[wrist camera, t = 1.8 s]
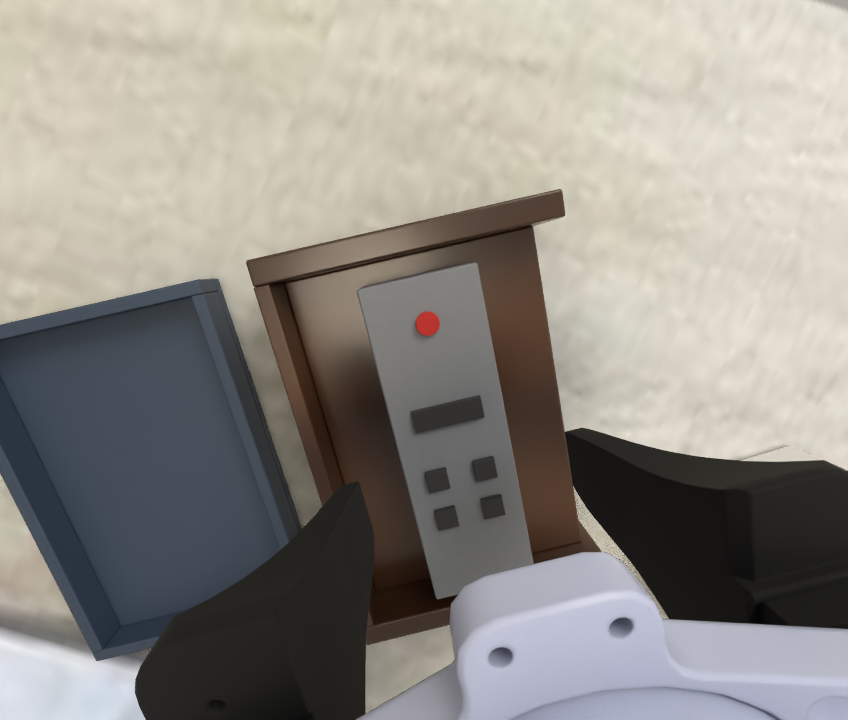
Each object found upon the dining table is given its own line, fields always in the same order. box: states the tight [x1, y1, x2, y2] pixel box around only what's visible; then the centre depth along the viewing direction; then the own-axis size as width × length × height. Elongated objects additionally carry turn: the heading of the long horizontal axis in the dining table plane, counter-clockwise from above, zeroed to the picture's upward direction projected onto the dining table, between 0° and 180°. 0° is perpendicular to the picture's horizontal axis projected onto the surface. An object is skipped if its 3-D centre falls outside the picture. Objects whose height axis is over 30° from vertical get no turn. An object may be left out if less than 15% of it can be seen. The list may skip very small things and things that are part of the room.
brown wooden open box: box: [246, 189, 602, 645], centre depth 19 cm, size 18×12×5 cm
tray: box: [0, 279, 302, 661], centre depth 21 cm, size 18×12×2 cm, turn 13°
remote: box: [357, 262, 534, 599], centre depth 18 cm, size 14×5×3 cm, turn 13°
